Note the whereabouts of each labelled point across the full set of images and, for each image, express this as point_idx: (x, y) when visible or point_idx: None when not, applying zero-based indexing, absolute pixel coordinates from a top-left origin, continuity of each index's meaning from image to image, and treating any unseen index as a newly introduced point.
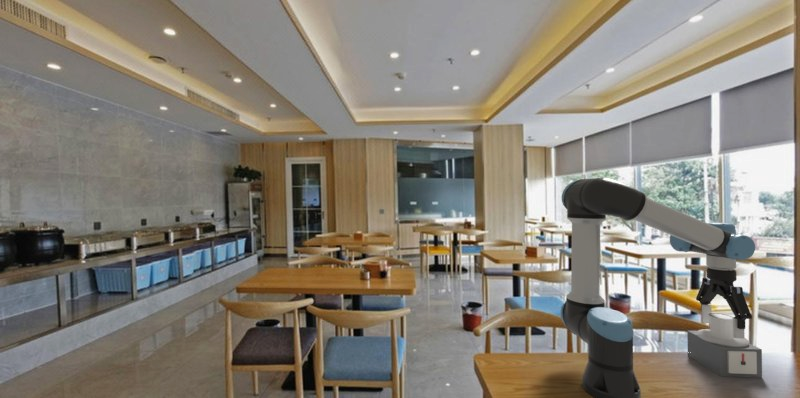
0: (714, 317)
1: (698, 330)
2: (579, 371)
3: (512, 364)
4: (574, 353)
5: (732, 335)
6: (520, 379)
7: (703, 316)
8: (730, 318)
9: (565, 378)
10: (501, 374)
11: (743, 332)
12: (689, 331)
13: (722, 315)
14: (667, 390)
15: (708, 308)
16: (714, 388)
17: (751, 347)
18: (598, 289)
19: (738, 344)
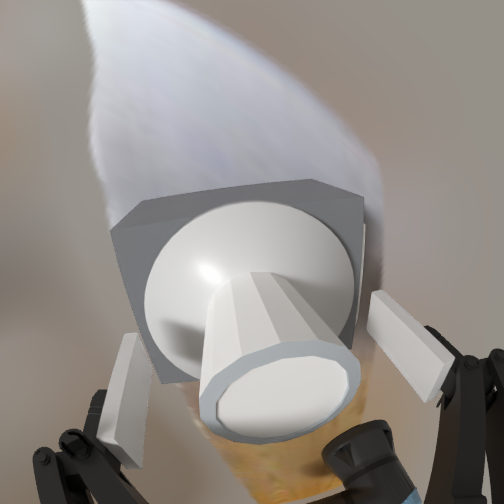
0: (310, 432)
1: (185, 371)
2: (302, 465)
3: (286, 494)
4: (235, 472)
5: (302, 297)
6: (322, 484)
7: (147, 400)
8: (333, 372)
9: (321, 468)
10: (310, 492)
11: (400, 310)
12: (173, 382)
13: (257, 393)
14: (364, 396)
15: (127, 427)
16: (367, 333)
17: (346, 229)
18: None
19: (353, 292)
